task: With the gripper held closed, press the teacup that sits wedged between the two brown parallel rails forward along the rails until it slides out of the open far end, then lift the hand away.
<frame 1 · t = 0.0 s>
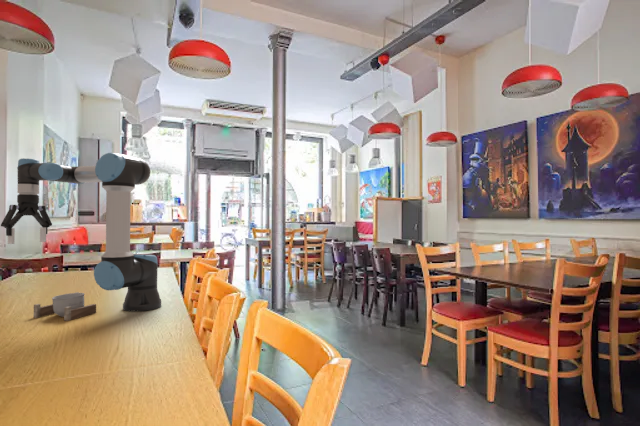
hand: (27, 242, 164), 28 cm above the table, fingers open, 13 cm apart
teacup: (71, 314, 152), on the table
brown parallel rails: (66, 314, 150), on the table
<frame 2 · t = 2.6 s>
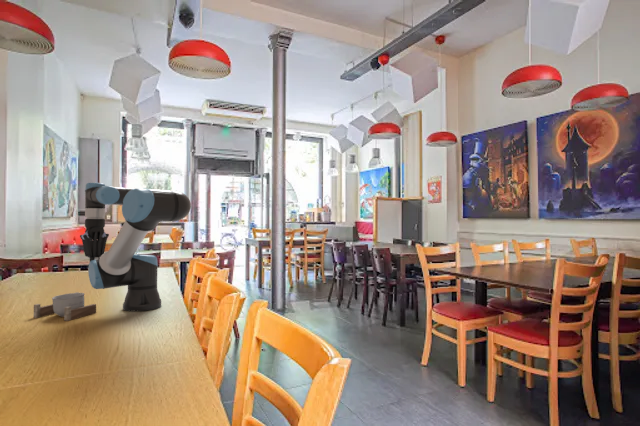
hand: (94, 272, 163), 15 cm above the table, fingers closed
nothing on the table moved.
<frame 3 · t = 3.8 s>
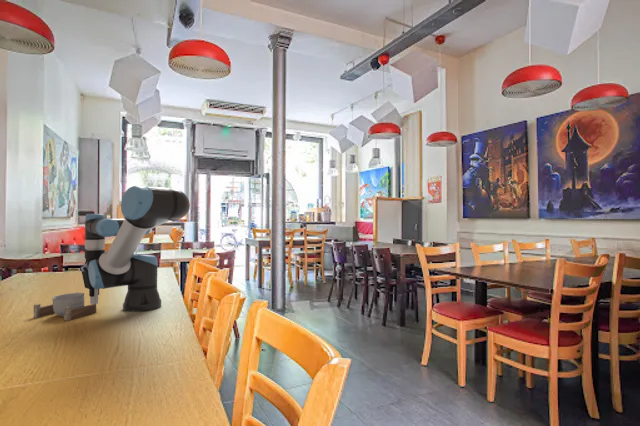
hand: (94, 303, 162), 2 cm above the table, fingers closed
nothing on the table moved.
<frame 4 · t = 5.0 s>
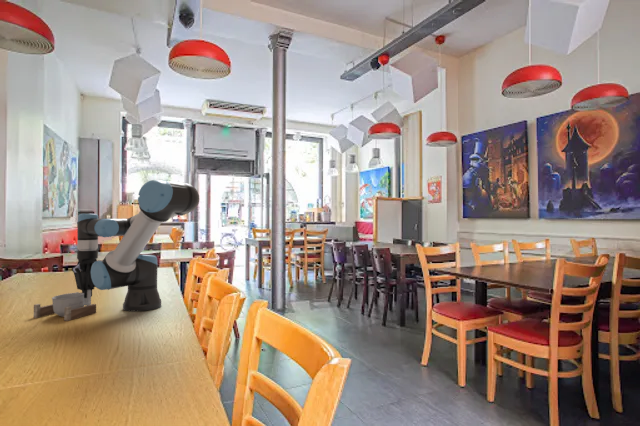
hand: (86, 305, 159), 2 cm above the table, fingers closed
teacup: (70, 314, 152), on the table, touching gripper
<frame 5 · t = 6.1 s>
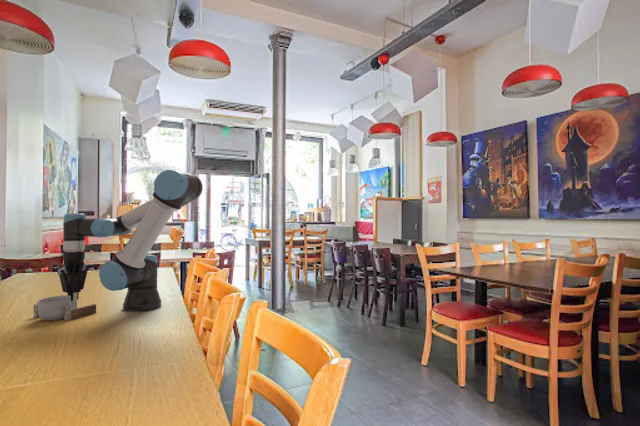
hand: (72, 308, 153), 2 cm above the table, fingers closed
teacup: (56, 318, 146), on the table, touching gripper
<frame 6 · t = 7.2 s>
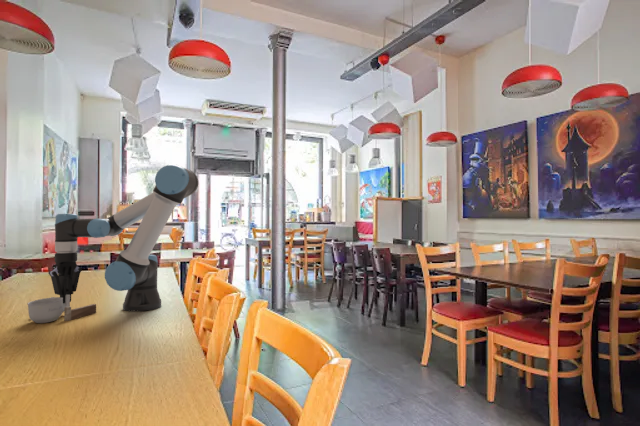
hand: (65, 310, 150), 2 cm above the table, fingers closed
teacup: (47, 320, 142), on the table, touching gripper
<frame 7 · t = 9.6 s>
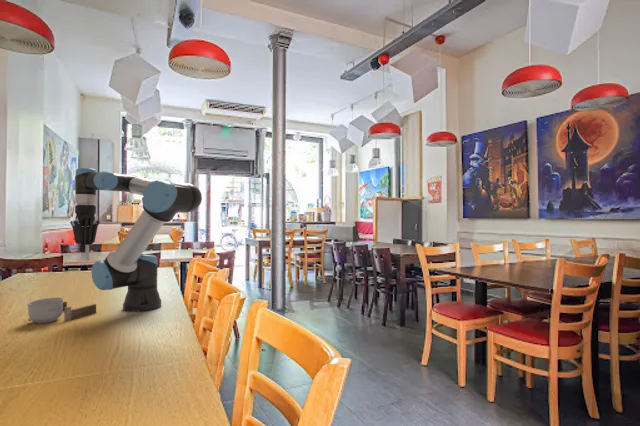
hand: (85, 260, 159), 21 cm above the table, fingers closed
teacup: (47, 320, 142), on the table
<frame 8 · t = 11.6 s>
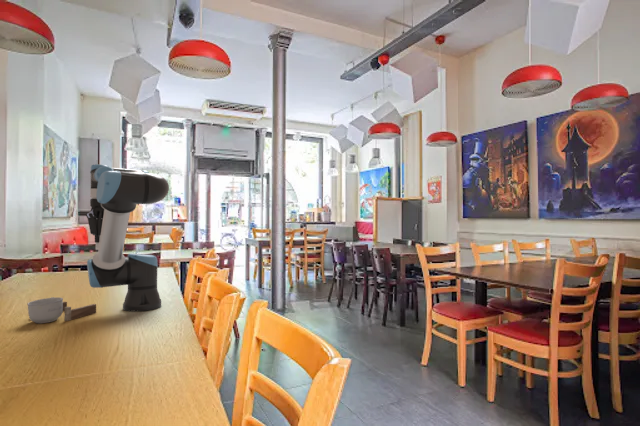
hand: (99, 249, 172), 24 cm above the table, fingers closed
nothing on the table moved.
at the end: teacup inside the target area (4.2 cm from its centre), on the table; teacup tilted 0°; teacup moved 9.8 cm from its start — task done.
